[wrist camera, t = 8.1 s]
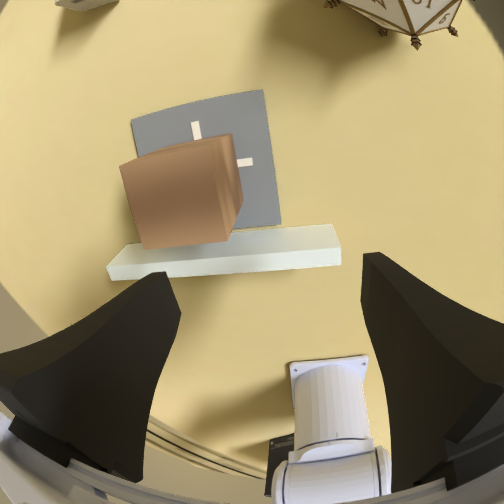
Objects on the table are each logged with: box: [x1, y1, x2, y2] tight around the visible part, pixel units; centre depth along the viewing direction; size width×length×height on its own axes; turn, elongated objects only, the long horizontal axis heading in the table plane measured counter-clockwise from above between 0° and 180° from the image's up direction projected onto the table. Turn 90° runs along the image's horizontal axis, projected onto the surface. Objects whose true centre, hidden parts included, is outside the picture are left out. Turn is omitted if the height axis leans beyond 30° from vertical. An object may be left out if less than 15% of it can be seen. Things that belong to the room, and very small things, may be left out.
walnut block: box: [119, 133, 244, 250], centre depth 15 cm, size 4×4×6 cm
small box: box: [264, 434, 294, 497], centre depth 32 cm, size 11×6×10 cm, turn 42°
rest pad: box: [131, 89, 281, 229], centre depth 18 cm, size 9×9×1 cm
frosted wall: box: [106, 224, 341, 281], centre depth 19 cm, size 1×16×4 cm, turn 98°
